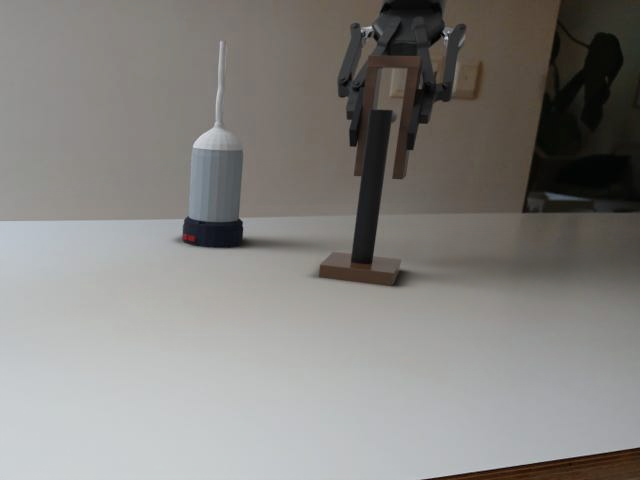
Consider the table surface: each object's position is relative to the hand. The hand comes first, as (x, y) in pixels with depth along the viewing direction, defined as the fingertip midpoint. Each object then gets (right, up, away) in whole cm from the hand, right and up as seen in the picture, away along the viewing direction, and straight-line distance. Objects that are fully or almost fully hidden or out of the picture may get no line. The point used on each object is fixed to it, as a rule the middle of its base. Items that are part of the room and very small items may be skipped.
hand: (381, 139), depth 83 cm
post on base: (-1, -14, +5) cm, 15 cm away
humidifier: (-18, -9, +17) cm, 26 cm away
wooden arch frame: (+1, -3, +5) cm, 6 cm away
